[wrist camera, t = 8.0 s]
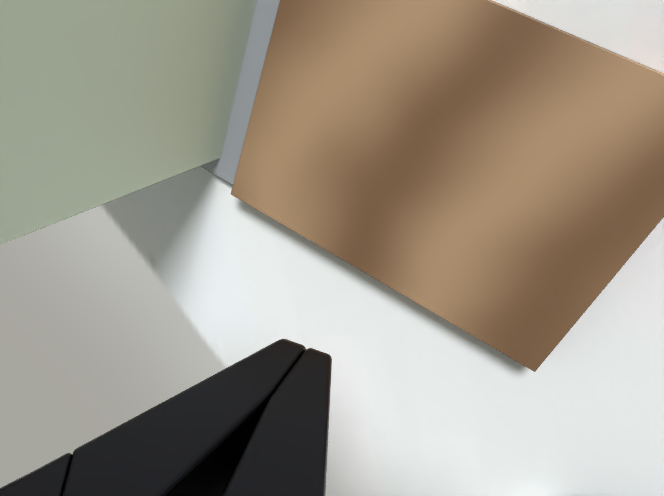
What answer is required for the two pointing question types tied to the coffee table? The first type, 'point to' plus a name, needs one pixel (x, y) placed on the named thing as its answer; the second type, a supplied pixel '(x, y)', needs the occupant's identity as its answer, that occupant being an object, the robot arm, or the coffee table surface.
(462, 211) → the walnut board
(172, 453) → the robot arm
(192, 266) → the coffee table surface
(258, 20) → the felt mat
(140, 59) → the tea caddy
